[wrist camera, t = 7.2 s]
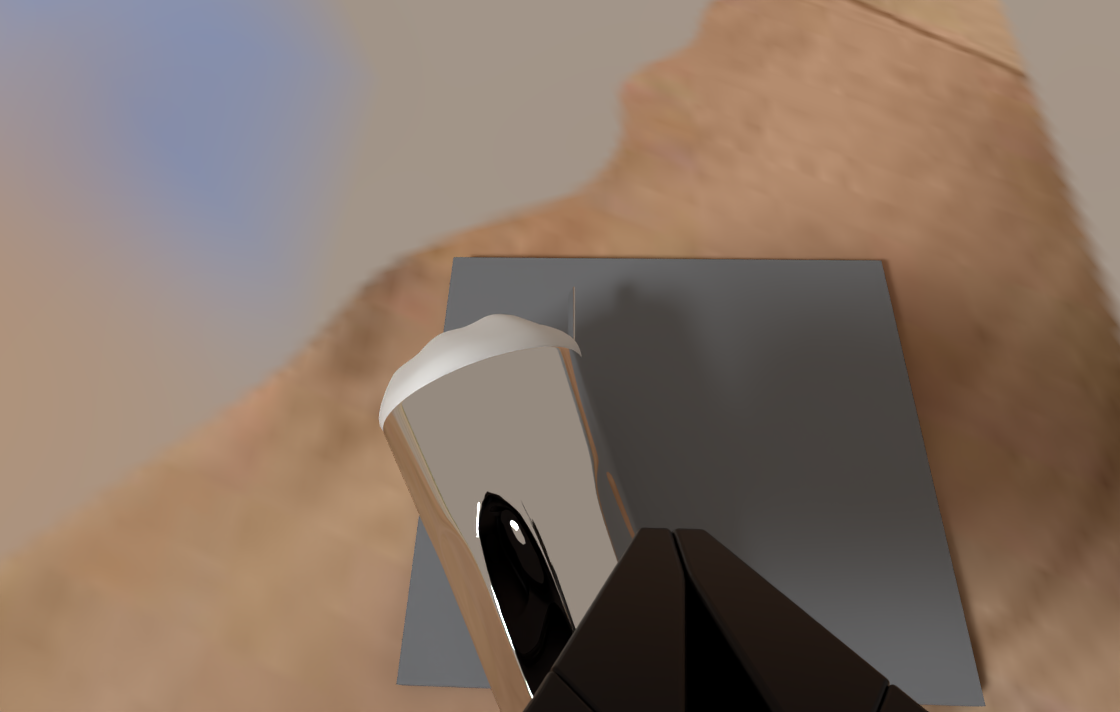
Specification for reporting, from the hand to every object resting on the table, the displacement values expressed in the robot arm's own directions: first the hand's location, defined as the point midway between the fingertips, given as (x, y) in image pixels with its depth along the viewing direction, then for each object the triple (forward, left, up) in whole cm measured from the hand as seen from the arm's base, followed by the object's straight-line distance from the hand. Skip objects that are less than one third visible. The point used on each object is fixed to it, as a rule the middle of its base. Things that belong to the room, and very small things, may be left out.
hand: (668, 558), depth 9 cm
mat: (+4, -1, -7) cm, 8 cm away
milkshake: (-3, 0, -5) cm, 6 cm away
